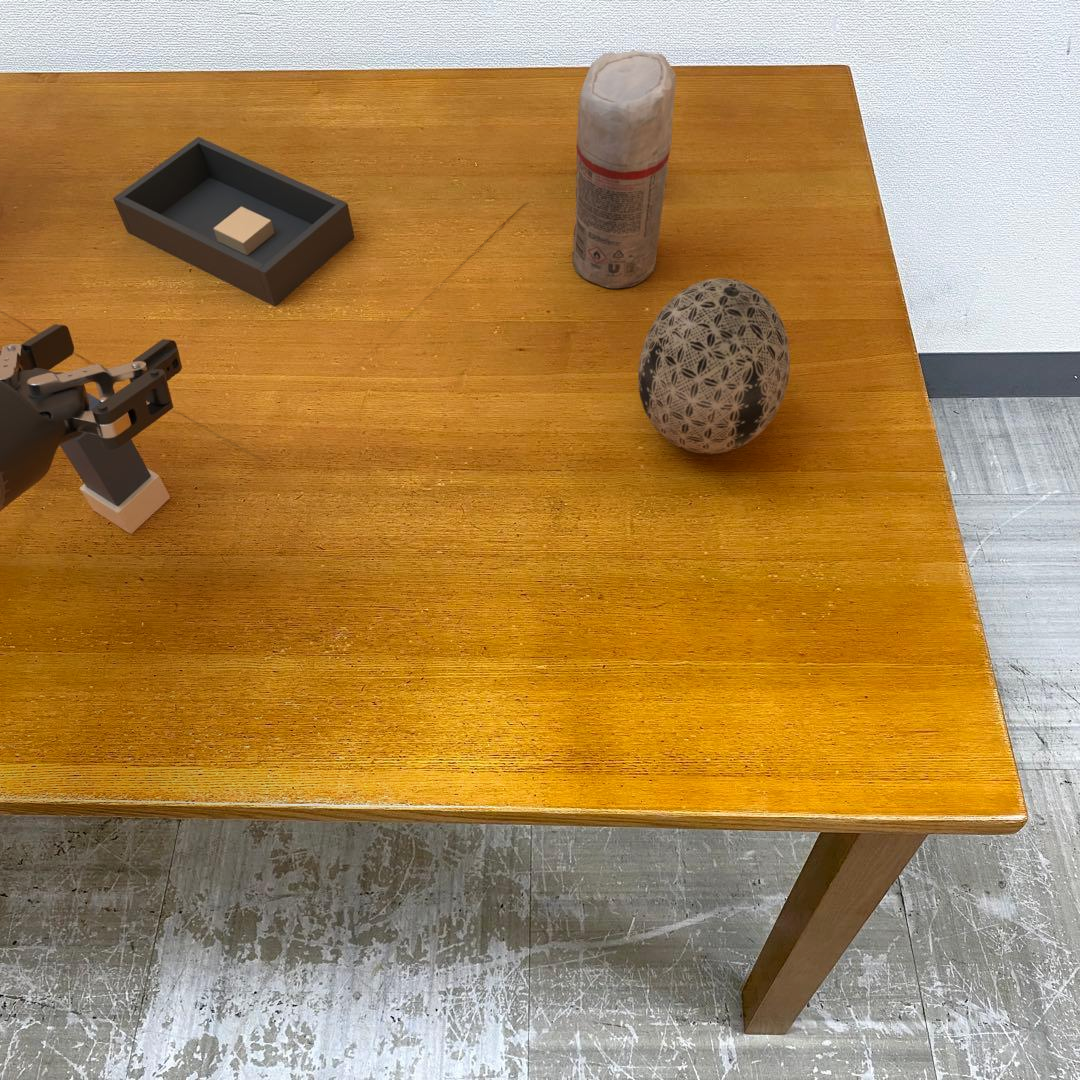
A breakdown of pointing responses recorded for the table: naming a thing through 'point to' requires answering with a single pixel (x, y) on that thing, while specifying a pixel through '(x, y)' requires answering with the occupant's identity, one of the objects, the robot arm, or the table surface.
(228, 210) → the bin
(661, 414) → the decorative egg
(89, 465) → the two-tone block stamp
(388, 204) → the table surface
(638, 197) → the spray can
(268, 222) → the beige square block
